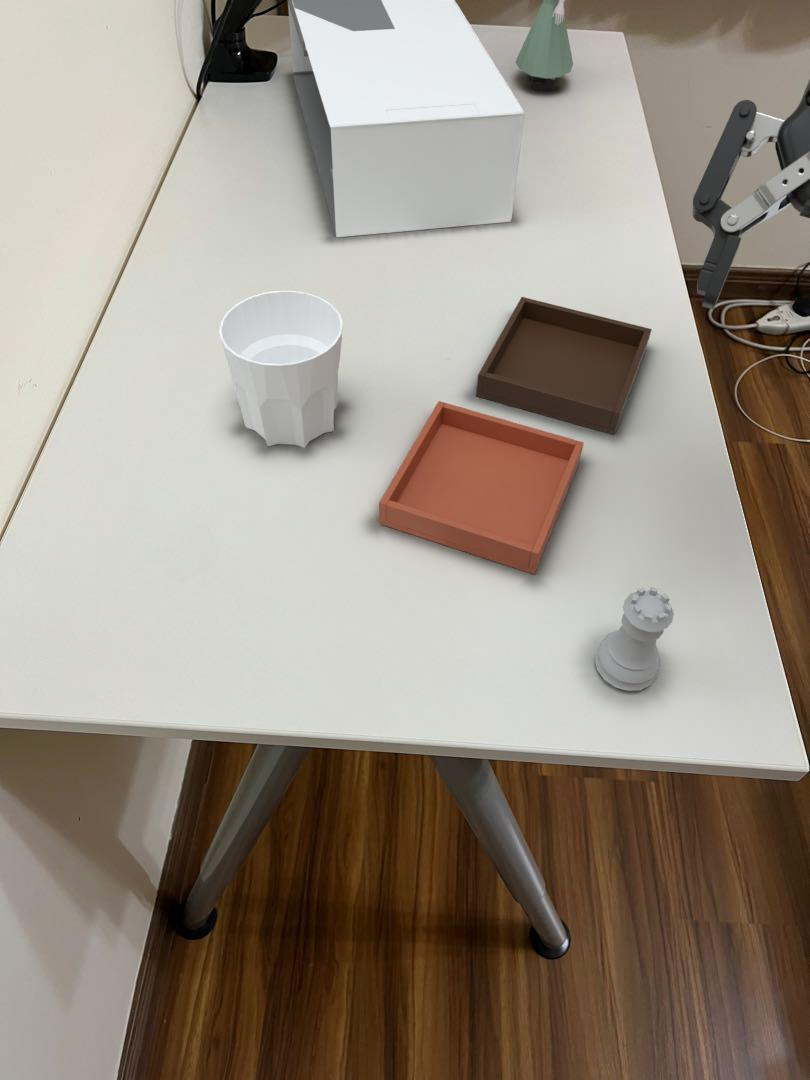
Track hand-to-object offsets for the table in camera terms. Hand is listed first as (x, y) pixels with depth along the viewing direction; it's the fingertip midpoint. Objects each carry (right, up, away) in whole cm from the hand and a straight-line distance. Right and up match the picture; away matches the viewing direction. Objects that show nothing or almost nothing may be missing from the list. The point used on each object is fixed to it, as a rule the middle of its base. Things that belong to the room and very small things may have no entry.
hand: (784, 329), depth 47 cm
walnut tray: (-6, +4, +35) cm, 36 cm away
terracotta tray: (-14, -8, +25) cm, 30 cm away
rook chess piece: (-5, -21, +14) cm, 26 cm away
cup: (-31, -1, +30) cm, 44 cm away
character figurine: (-1, +55, +77) cm, 95 cm away
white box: (-23, +41, +65) cm, 80 cm away
